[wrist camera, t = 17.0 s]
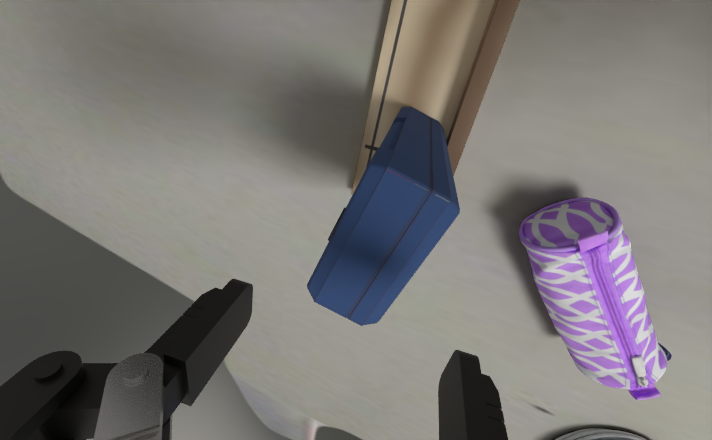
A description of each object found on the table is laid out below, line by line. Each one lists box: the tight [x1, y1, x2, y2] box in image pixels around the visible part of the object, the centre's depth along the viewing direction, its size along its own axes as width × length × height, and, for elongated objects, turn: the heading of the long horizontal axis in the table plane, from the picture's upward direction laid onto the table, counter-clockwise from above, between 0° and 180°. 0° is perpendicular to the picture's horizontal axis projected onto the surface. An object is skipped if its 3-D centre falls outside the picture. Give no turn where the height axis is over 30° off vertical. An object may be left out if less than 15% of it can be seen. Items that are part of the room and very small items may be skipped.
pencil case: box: [519, 198, 671, 400], centre depth 33 cm, size 22×9×9 cm, turn 33°
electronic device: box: [307, 107, 460, 326], centre depth 25 cm, size 10×5×20 cm, turn 155°
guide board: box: [351, 0, 520, 194], centre depth 28 cm, size 10×32×4 cm, turn 169°
